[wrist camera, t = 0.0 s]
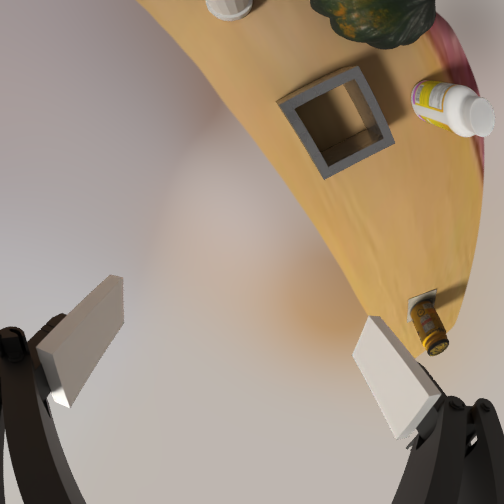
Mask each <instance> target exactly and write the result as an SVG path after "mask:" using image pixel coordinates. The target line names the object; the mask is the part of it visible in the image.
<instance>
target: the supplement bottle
mask: <svg viewBox="0 0 504 504" xmlns="http://www.w3.org/2000/svg"><path fill="white" fill-rule="evenodd" d="M411 103H412V107H413V109H414V111H415V113H416V114H417V116H418V117H419V118H420V119H422V120H423V121H425V122H428V123H430V124H433V125H436V126H438V127H441V128H443V129H446V130H448V131H450V132H453V133H455V134H457V135H460V136H462V137H471V136H473V135H478V136H481V137H486V136H488V135H489V134H490V133H491V132H492V130H493V127H494V123H495V114H494V110H493V108H492V106H491V104H490V103H489V101H488V100H486V99H485V98H482V97H479V96H478V95H477V94H476V93H475V92H474V91H473V90H472V89H470V88H469V87H467V86H463V85H458V84H451V83H445V82H438V81H430V80H424V81H421V82H419V83H417V84H416V85H415V87H414V88H413V90H412V94H411Z"/></svg>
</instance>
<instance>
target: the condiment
mask: <svg viewBox="0 0 504 504" xmlns="http://www.w3.org/2000/svg"><path fill="white" fill-rule="evenodd" d="M436 291H437V290H434V291H430V292H428V293H424V294H422V295H419V296H417V297H414V298H412V299H409V303H408V316H407V323H408V322H410V321H413V324H414V326H415V328H416V330H417V333H418V335H419V337H420V340H421V342H422V344H423V346H424V347H426V350H427V353H428V354H429V356H435V355H438V354H440V353H442V352H443V351H444V350H445V349H446V348H447V347H448V345H449V340H448V339H447V335H446V330H445V328H444V326H443V324H442V322H441V320H440V318H439V316H438V314H437V312H436V310H435V308H434V303H435V297H436Z"/></svg>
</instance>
